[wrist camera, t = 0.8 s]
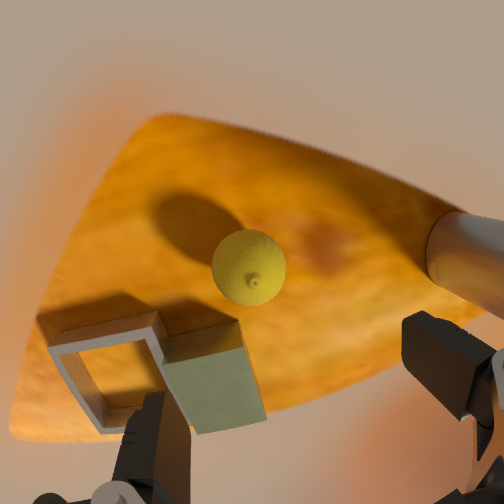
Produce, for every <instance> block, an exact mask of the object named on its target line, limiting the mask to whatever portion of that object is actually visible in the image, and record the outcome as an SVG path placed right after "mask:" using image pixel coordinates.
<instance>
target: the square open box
mask: <svg viewBox="0 0 504 504" xmlns="http://www.w3.org/2000/svg"><path fill="white" fill-rule="evenodd" d="M142 339H145V340H146V342H147V344H148V346H149V349H150V351H151V353H152V355H153V358H154V360H155V362H156V364H157V366H158V368H159V370H160V372H161V374H162V376H163V379H164V381H165V383H166V385H167V387H168V389H169V390H170V392H171V393H172V395H173V397H174V398H175V400H176V402H177V404H178V406H179V408H180V410H181V412H182V413H183V415H184V417H185V419H186V421H187V423H188V425H189V426H193V427H194V429H195V431H196V433H197V434H204V433H210V432H216V431H220V430H226V429H230V428H236V427H240V426H245V425H249V424H253V423H257V422H261V421H265V420H267V416H266V413H265V409H264V405H263V401H262V397H261V393H260V389H259V386H258V382H257V379H256V376H255V373H254V370H253V366H252V363H251V360H250V357H249V353H248V350H247V347H246V344H245V340H244V337H243V334H242V330H241V327H240V324H239V320H237V321H233V322H229V323H226V324H222V325H218V326H214V327H210V328H206V329H202V330H197V331H193V332H189V333H185V334H180V335H176V336H172V337H169V336H168V333H167V331H166V328H165V326H164V323H163V321H162V318H161V316H160V313H159V310H156V311H152V312H148V313H143V314H139V315H135V316H131V317H126V318H122V319H118V320H113V321H109V322H104V323H100V324H95V325H91V326H86V327H82V328H77V329H72V330H68V331H63V332H60V333H59V334H58V335H57V337H56V338H55V339H54V340H53V341H52V342H51V343H50V344H49V345H48V346H47V349H48V351H49V353H50V355H51V357H52V359H53V360H54V362H55V364H56V366H57V368H58V370H59V371H60V373H61V375H62V377H63V378H64V380H65V382H66V383H67V385H68V387H69V388H70V390H71V392H72V393H73V395H74V396H75V398H76V399H77V401H78V403H79V404H80V406H81V407H82V409H83V410H84V412H85V413H86V414H87V416H88V417H89V419H90V420H91V422H92V423H93V424H94V426H95V427H96V428H97V430H98V431H99V433H100V434H119V433H124V431H125V427H126V424H127V421H128V419H129V418H130V417H131V416H132V414H133V413H134V412H135V410H140V409H142V407H143V406H135V407H126V408H116V409H110V407H109V406H108V404H107V403H106V401H105V399H104V398H103V396H102V394H101V393H100V391H99V389H98V388H97V386H96V384H95V383H94V381H93V379H92V377H91V376H90V374H89V372H88V370H87V368H86V367H85V365H84V363H83V361H82V359H81V357H80V355H79V353H78V352H79V351H85V350H91V349H96V348H102V347H107V346H112V345H118V344H123V343H128V342H133V341H137V340H142Z"/></svg>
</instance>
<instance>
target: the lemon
mask: <svg viewBox="0 0 504 504" xmlns="http://www.w3.org/2000/svg"><path fill="white" fill-rule="evenodd" d="M211 268H212V274H213V279H214V281H215V283H216V285H217V287H218V289H219V290H220V291H221V292H222V294H223V295H224V296H225V297H227V298H228V299H229V300H231V301H232V302H235V303H237V304H240V305H245V306H255V305H260V304H263V303H266V302H267V301H269V300H270V299H272V298H273V297H274V296H275V295H276V294H277V293H278V292H279V290H280V289H281V287H282V285H283V283H284V280H285V276H286V263H285V258H284V254H283V252H282V250H281V248H280V247H279V245H278V244H277V243H276V242H275V241H274V240H273V238H271V237H270V236H268V235H267V234H265V233H263V232H260V231H257V230H251V229H244V230H239V231H235V232H233V233H231V234H229V235H227V236H226V237H225V238H224V239H223V240H222V241H221V242H220V243H219V245H218V246H217V247H216V249H215V252H214V255H213V257H212V266H211Z"/></svg>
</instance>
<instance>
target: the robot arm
mask: <svg viewBox="0 0 504 504" xmlns="http://www.w3.org/2000/svg"><path fill="white" fill-rule="evenodd" d="M426 266H427V271H428V274H429V276H430V278H431V280H432V281H433V282H434V283H435V284H436V285H438V286H440V287H442V288H444V289H446V290H448V291H450V292H452V293H454V294H456V295H458V296H459V297H461V298H463V299H465V300H467V301H469V302H471V303H473V304H475V305H477V306H479V307H480V308H482V309H484V310H486V311H488V312H490V313H492V314H493V315H495V316H497V317H499V318H501V319H503V320H504V221H502V220H497V219H491V218H487V217H482V216H478V215H472V214H466V213H461V212H450V213H447V214H445V215H444V216H442V217H441V218H440V219H439V220H438V221H437V223H436V224H435V226H434V227H433V230H432V232H431V234H430V237H429V240H428V243H427V249H426ZM401 355H402V361H403V363H404V366H405V367H406V369H407V370H408V371H409V372H410V373H411V374H412V375H413V376H414V377H415V378H416V379H417V380H418V381H419V382H420V383H421V384H422V385H423V386H424V387H425V388H426V389H428V390H429V392H430V393H432V394H433V395H434V396H435V397H436V398H437V399H438V400H439V401H440V402H441V403H442V404H443V405H444V406H445V407H446V408H447V409H448V410H449V411H450V412H451V413H452V414H453V415H454V416H455V417H456V418H457V419H458V420H459V421H460V422H461V421H462V420H463V419H465V418H466V417H468V416H469V415H470V414H472V415H473V416H474V420H473V453H472V454H473V455H472V469H471V474H470V477H469V479H468V483H467V486H466V491H465V493H464V494H461V493H460V492H459V491H458V489H455V490H454V491H453V492H451V493H450V494H448V495H447V496H445V497H444V498H442V499H441V500H439V501H437V502H436V503H434V504H504V348H503V349H501V350H499V351H496V350H495V349H493V348H492V347H490V346H489V345H487V344H486V343H484V342H483V341H481V340H479V339H478V338H476V337H474V336H473V335H472V334H468V332H467V331H465V330H464V329H460V327H459V326H457V325H456V324H454V323H452V322H451V321H448V320H444V319H440V318H435V317H433V316H431V315H430V314H428V313H427V312H425V311H419V312H417V313H415V314H413V315H411V316H408V317H406V318H404V319H403V321H402V351H401ZM124 434H125V435H123V438H122V445H121V446H120V449H119V453H118V457H117V461H116V465H115V469H114V473H113V477H112V480H111V481H110V482H107V483H105V484H103V485H101V486H100V487H98V488H97V489H96V491H95V492H94V493H93V495H92V498H91V499H88V500H83V501H77V502H72V503H68V502H66V500H64V499H63V498H62V497H61V496H59V495H57V494H54V493H46V494H43V495H41V496H39V497H38V498H37V499H36V500H35V501H34V502H33V504H190V467H191V466H190V465H191V462H190V461H191V433H190V428H189V425H188V423H187V421H186V419H185V417H184V415H183V413H182V412H181V410H180V408H179V406H178V404H177V402H176V400H175V398H174V397H173V395H172V393H171V392H170V391H169V390H165V391H159V392H153V393H147V394H146V396H145V399H144V403H143V407H142V409H140V410H135V412H134V413H133V414H132V416H131V417H130V418H129V419H128V421H127V424H126V427H125V431H124Z"/></svg>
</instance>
